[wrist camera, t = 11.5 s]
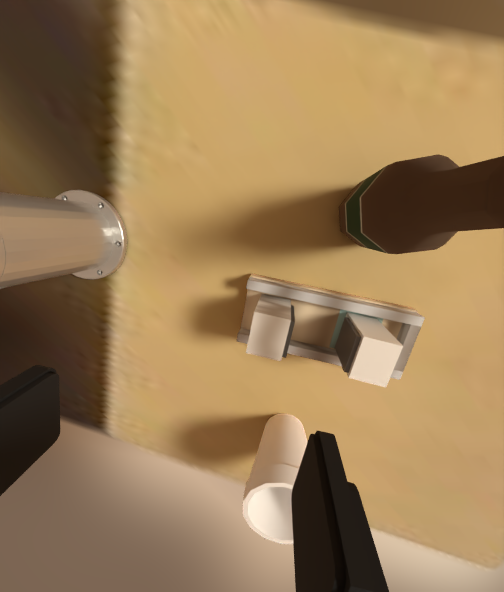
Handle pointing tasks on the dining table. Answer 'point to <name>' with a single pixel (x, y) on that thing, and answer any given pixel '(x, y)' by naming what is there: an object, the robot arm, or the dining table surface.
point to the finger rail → (315, 320)
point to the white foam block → (367, 349)
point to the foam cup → (275, 478)
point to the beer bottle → (423, 204)
